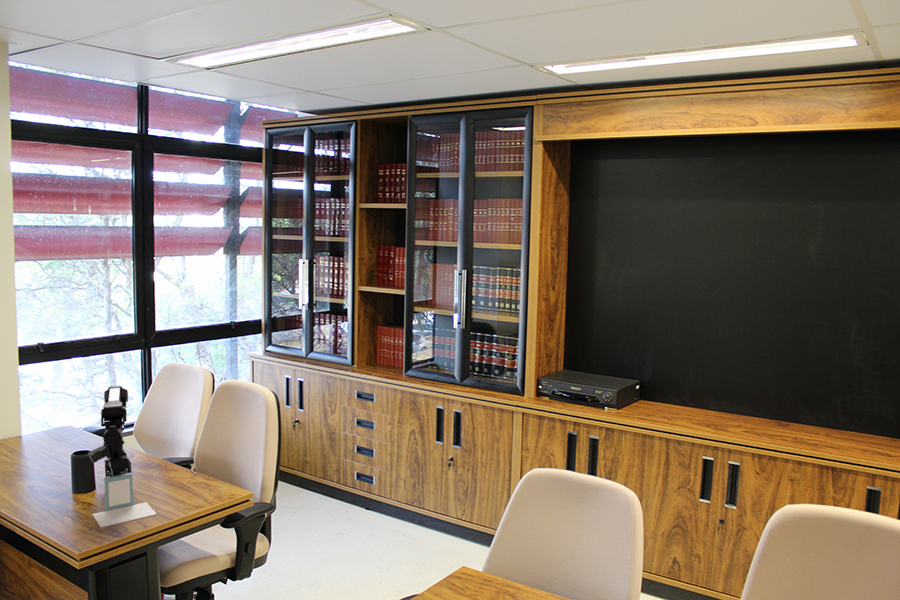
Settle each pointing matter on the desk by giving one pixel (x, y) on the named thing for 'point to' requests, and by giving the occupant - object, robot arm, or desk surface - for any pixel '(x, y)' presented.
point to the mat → (124, 514)
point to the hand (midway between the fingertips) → (115, 479)
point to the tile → (118, 491)
